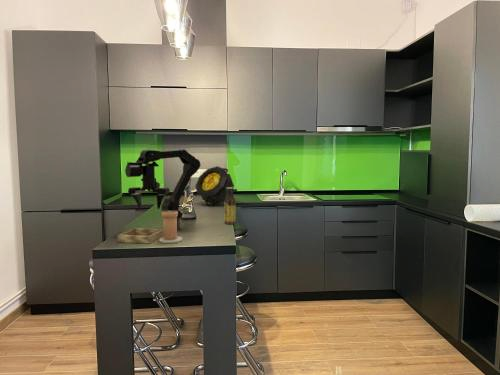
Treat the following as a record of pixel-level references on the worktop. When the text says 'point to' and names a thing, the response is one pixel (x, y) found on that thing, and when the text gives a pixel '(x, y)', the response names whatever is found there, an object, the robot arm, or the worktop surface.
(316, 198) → the worktop surface
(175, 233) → the terracotta pot
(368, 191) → the worktop surface
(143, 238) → the pine frame
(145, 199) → the worktop surface
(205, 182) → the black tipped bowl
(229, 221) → the sauce bottle
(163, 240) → the ceramic saucer
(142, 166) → the robot arm
